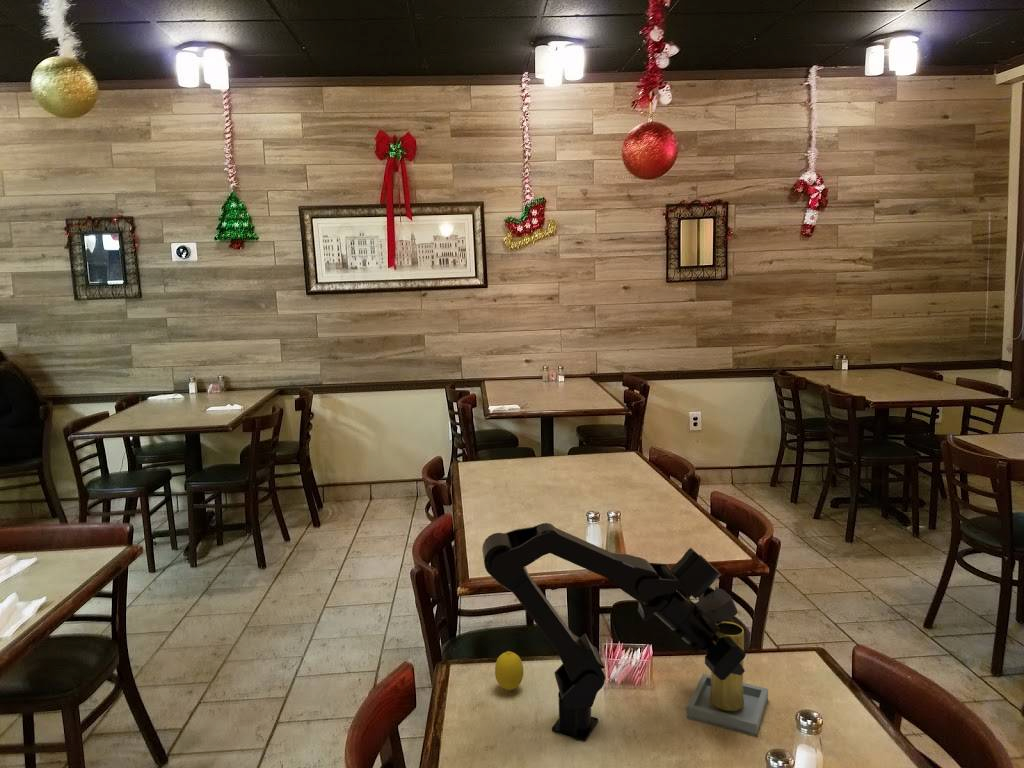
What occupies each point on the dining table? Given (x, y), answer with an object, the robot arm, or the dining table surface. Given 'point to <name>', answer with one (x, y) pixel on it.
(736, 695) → the vase
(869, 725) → the dining table surface
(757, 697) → the tray
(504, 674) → the lemon
